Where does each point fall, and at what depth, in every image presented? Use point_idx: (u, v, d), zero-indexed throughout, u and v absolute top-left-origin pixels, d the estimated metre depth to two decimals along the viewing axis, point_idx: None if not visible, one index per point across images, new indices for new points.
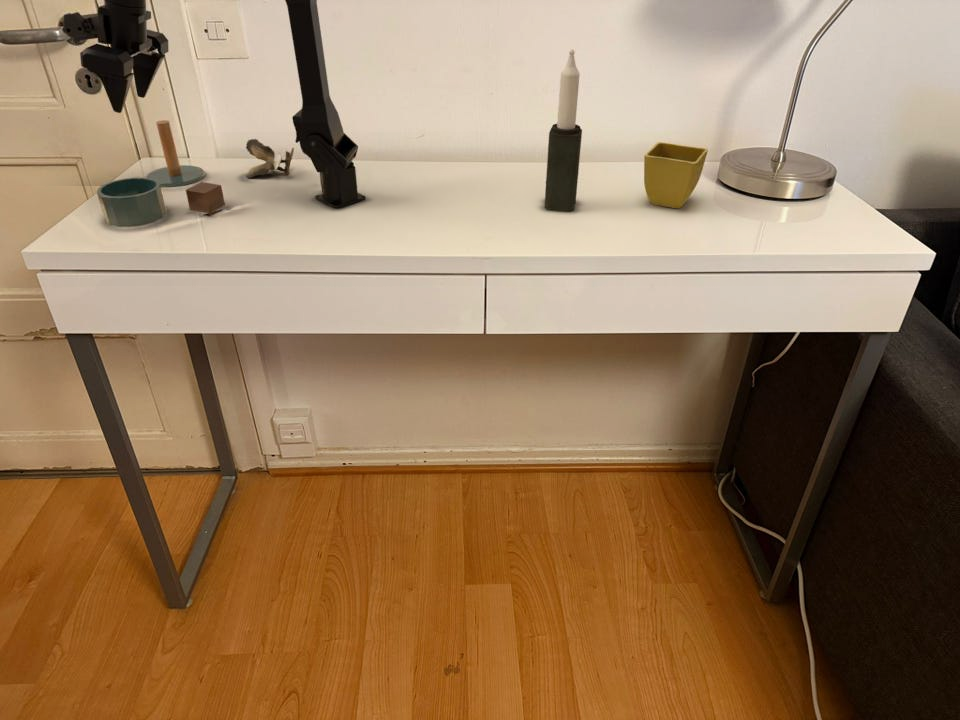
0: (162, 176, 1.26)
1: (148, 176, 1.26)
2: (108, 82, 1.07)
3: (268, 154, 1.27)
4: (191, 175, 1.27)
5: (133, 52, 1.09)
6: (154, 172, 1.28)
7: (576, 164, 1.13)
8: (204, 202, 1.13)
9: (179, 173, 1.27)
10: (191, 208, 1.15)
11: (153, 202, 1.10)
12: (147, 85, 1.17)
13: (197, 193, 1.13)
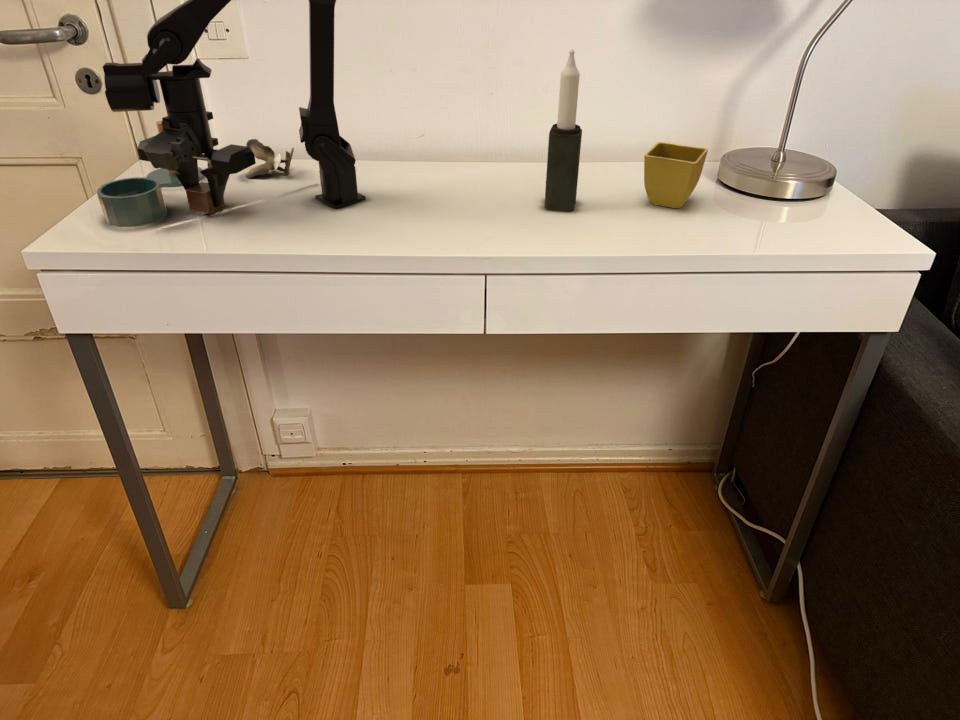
0: (162, 176, 1.26)
1: (148, 176, 1.26)
2: (215, 180, 1.12)
3: (268, 154, 1.27)
4: None
5: None
6: (154, 172, 1.28)
7: (576, 164, 1.13)
8: (204, 202, 1.13)
9: None
10: (191, 208, 1.15)
11: (153, 202, 1.10)
12: None
13: (197, 193, 1.13)
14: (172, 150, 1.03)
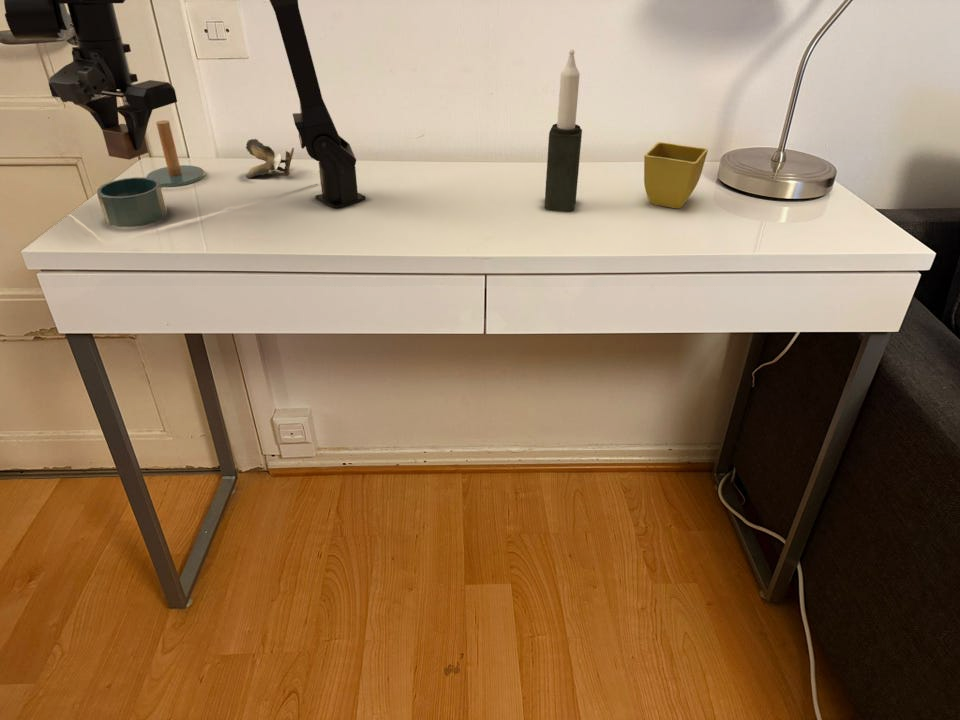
0: (162, 176, 1.26)
1: (148, 176, 1.26)
2: None
3: (268, 154, 1.27)
4: (191, 175, 1.27)
5: None
6: (154, 172, 1.28)
7: (576, 164, 1.13)
8: (122, 144, 1.05)
9: (179, 173, 1.27)
10: (109, 151, 1.06)
11: (153, 202, 1.10)
12: None
13: (114, 133, 1.04)
14: (79, 80, 0.94)
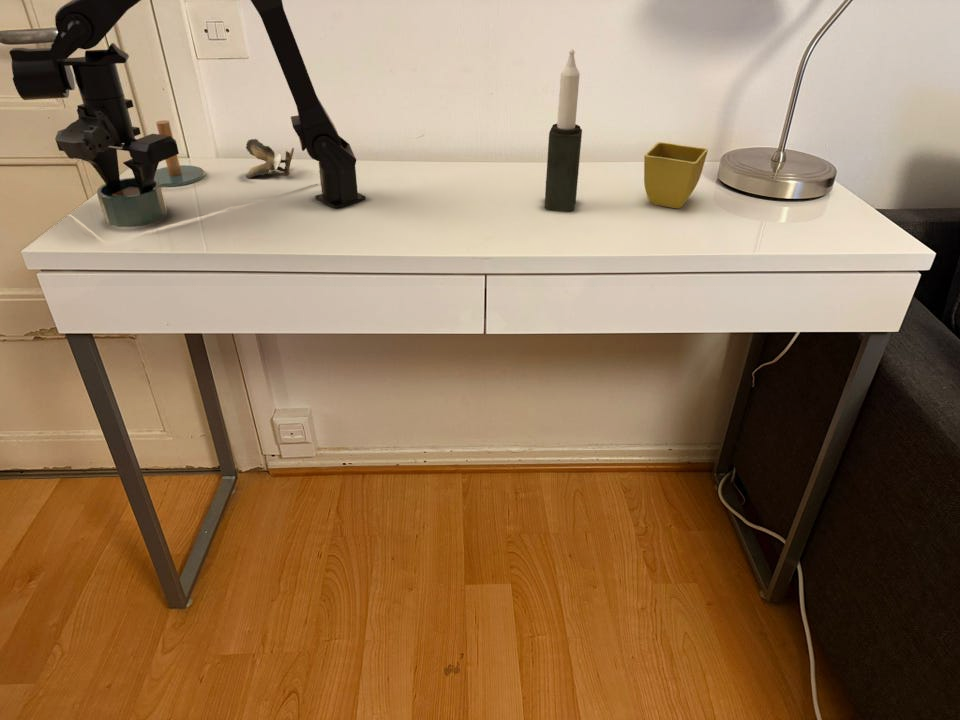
0: (162, 176, 1.26)
1: None
2: (141, 172, 1.07)
3: (268, 154, 1.27)
4: (191, 175, 1.27)
5: None
6: None
7: (576, 164, 1.13)
8: None
9: (179, 173, 1.27)
10: None
11: (153, 202, 1.10)
12: (118, 178, 1.12)
13: None
14: (85, 139, 0.98)
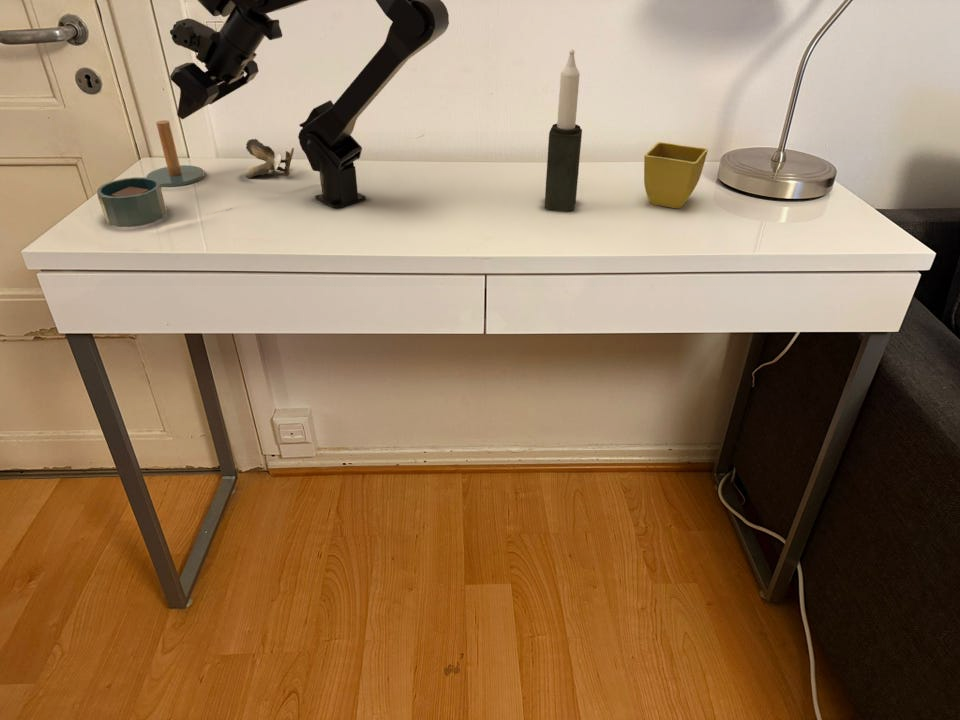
0: (162, 176, 1.26)
1: (148, 176, 1.26)
2: (186, 95, 1.11)
3: (268, 154, 1.27)
4: (191, 175, 1.27)
5: None
6: (154, 172, 1.28)
7: (576, 164, 1.13)
8: None
9: (179, 173, 1.27)
10: None
11: (153, 202, 1.10)
12: (219, 98, 1.21)
13: None
14: None
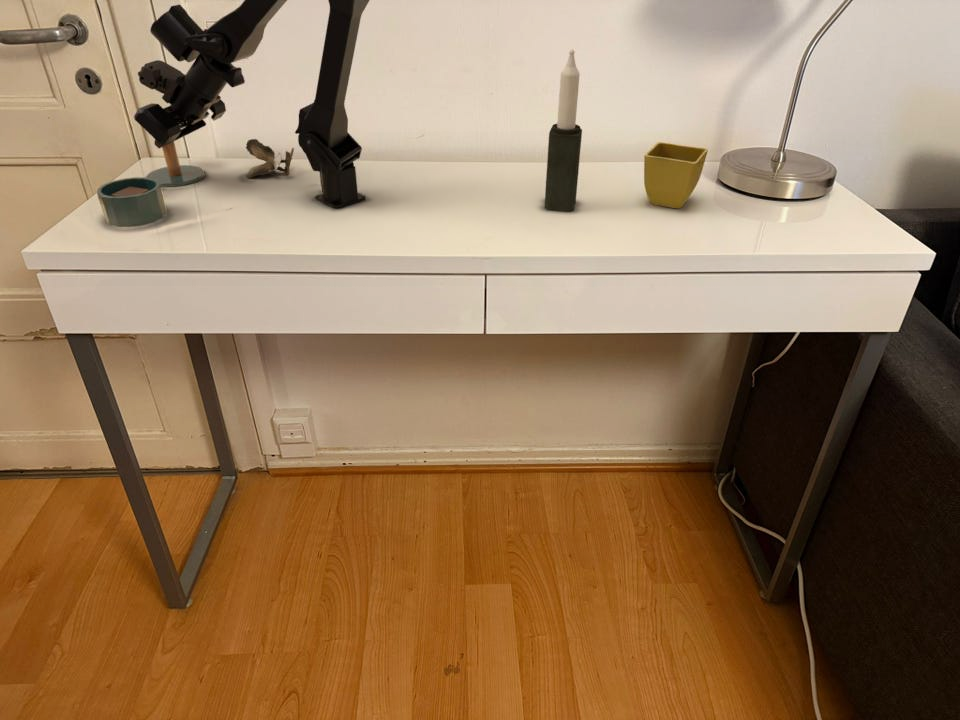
0: (162, 176, 1.26)
1: (148, 176, 1.26)
2: None
3: (268, 154, 1.27)
4: (190, 175, 1.27)
5: None
6: (154, 172, 1.28)
7: (576, 164, 1.13)
8: None
9: (179, 173, 1.27)
10: None
11: (153, 202, 1.10)
12: None
13: None
14: None
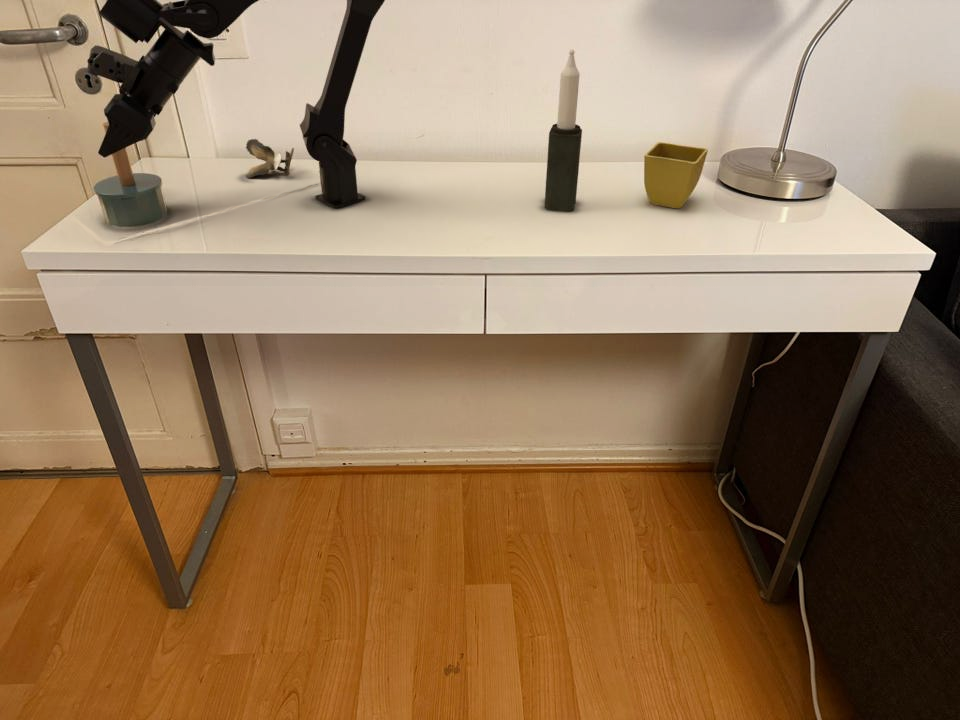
0: (115, 188, 1.08)
1: (98, 190, 1.07)
2: (114, 130, 1.00)
3: (268, 154, 1.27)
4: (150, 182, 1.11)
5: None
6: (99, 185, 1.09)
7: (576, 164, 1.13)
8: None
9: (134, 181, 1.10)
10: None
11: (153, 202, 1.10)
12: None
13: None
14: (98, 54, 0.97)
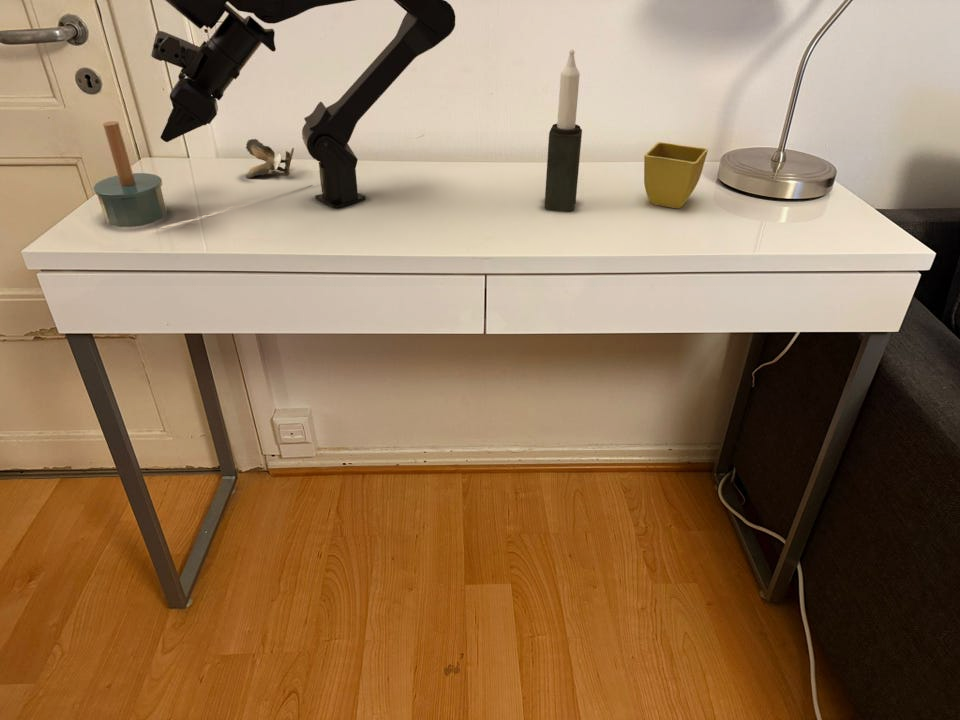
0: (115, 188, 1.08)
1: (98, 190, 1.07)
2: (177, 114, 1.01)
3: (268, 154, 1.27)
4: (150, 182, 1.11)
5: None
6: (99, 185, 1.09)
7: (576, 164, 1.13)
8: None
9: (134, 181, 1.10)
10: None
11: (153, 202, 1.10)
12: None
13: None
14: (163, 39, 0.98)
